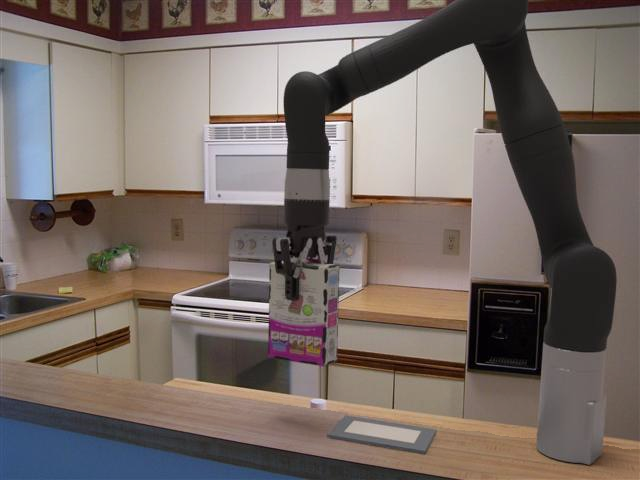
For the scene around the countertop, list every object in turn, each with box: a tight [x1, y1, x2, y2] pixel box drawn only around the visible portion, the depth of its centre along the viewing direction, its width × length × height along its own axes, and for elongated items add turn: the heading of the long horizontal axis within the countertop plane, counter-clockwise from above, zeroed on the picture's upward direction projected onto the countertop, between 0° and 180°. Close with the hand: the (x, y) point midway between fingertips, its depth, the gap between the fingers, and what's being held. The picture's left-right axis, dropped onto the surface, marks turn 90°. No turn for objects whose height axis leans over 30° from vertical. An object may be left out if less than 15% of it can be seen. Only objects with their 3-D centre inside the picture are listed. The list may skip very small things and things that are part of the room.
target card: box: [326, 414, 437, 455], centre depth 112 cm, size 16×10×1 cm, turn 70°
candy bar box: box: [267, 261, 341, 367], centre depth 114 cm, size 11×5×16 cm, turn 62°
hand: (304, 297), depth 114 cm, fingers closed on candy bar box, 5 cm apart
